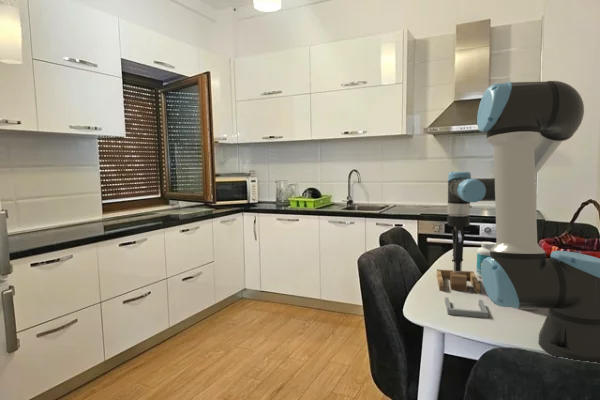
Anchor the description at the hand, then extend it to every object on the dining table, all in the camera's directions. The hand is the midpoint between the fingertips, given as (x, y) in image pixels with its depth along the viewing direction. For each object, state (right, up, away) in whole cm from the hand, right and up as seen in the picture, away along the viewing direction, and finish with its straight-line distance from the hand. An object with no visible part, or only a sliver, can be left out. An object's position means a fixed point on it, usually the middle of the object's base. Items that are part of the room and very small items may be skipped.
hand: (457, 278), depth 142 cm
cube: (-1, -3, -3) cm, 4 cm away
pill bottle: (+15, -1, +8) cm, 17 cm away
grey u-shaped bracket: (-7, -5, -23) cm, 24 cm away
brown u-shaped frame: (0, -2, 0) cm, 2 cm away
